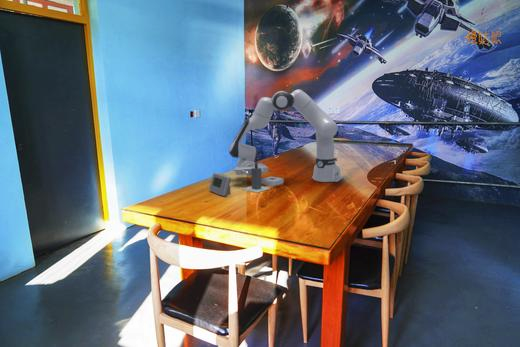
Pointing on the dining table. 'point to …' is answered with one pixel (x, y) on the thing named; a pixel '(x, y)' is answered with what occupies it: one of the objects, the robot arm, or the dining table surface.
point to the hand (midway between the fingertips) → (254, 172)
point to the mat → (257, 189)
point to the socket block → (272, 181)
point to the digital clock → (220, 184)
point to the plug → (256, 177)
